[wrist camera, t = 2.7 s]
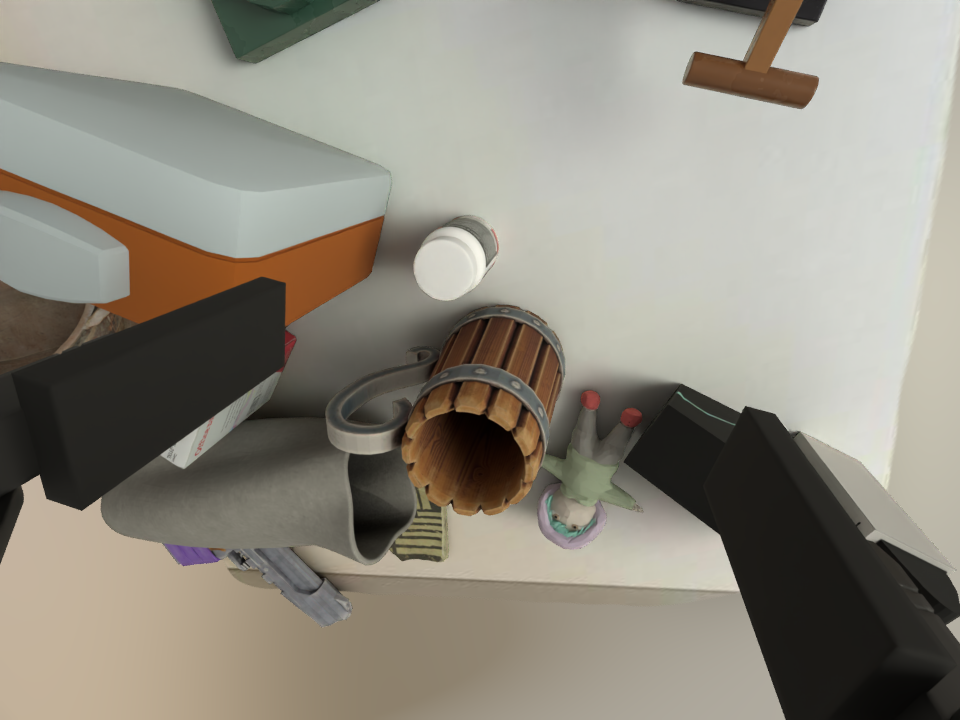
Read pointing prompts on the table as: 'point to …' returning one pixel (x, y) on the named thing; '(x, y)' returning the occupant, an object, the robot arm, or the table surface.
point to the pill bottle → (455, 257)
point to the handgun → (278, 577)
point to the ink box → (225, 418)
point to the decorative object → (708, 424)
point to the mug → (466, 410)
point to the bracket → (756, 3)
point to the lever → (757, 65)
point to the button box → (278, 22)
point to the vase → (270, 494)
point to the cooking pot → (45, 327)
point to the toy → (585, 479)
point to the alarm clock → (172, 198)
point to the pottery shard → (424, 533)
